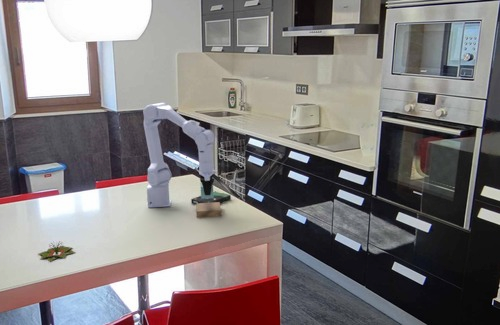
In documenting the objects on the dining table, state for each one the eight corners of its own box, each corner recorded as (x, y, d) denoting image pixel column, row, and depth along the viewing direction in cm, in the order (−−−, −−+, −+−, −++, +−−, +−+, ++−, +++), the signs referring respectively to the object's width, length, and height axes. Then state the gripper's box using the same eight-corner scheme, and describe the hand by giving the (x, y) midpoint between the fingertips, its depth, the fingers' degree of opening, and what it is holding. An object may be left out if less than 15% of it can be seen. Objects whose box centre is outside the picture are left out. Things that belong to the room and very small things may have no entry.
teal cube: (201, 198, 185) (200, 186, 183) (200, 195, 189) (200, 183, 188) (213, 198, 185) (213, 186, 184) (213, 194, 190) (212, 182, 189)
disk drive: (207, 209, 194) (231, 200, 205) (207, 203, 193) (231, 194, 204) (191, 205, 201) (214, 196, 212) (190, 198, 200) (214, 190, 211)
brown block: (196, 218, 184) (196, 211, 183) (196, 210, 193) (196, 203, 193) (221, 217, 185) (221, 210, 184) (219, 208, 195) (219, 202, 194)
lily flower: (65, 244, 161) (64, 232, 160) (82, 253, 153) (81, 241, 152) (31, 256, 152) (29, 243, 151) (47, 266, 145) (45, 253, 144)
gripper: (217, 164, 177) (218, 197, 180) (215, 156, 191) (216, 187, 194) (198, 165, 176) (200, 198, 180) (198, 157, 190) (199, 188, 194)
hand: (207, 193), depth 187 cm, fingers closed on teal cube, 5 cm apart
